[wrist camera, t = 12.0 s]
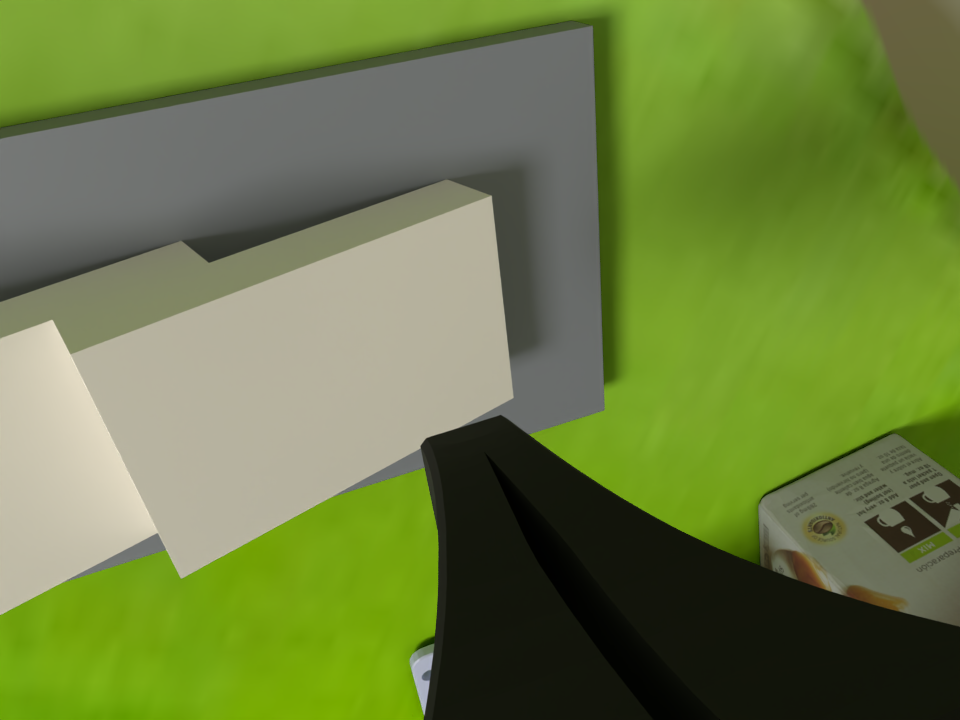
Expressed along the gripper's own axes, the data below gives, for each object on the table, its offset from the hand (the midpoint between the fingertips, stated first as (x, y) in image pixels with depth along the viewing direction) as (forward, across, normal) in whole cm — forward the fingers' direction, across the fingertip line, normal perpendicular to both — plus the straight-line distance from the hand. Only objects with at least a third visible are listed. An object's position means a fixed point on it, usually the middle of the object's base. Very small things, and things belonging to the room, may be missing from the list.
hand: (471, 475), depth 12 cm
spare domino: (+6, -2, 0) cm, 6 cm away
